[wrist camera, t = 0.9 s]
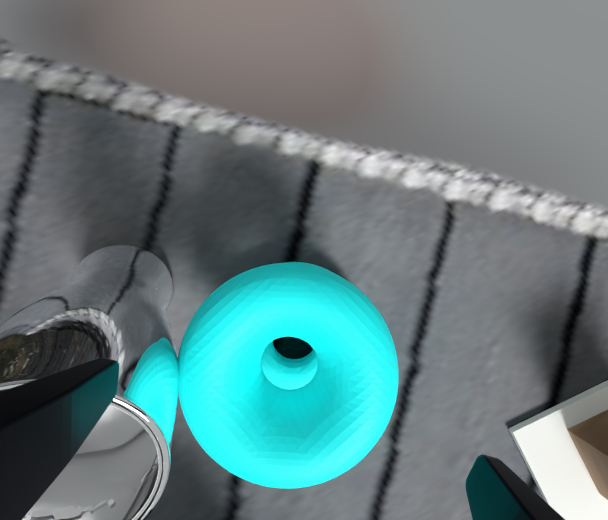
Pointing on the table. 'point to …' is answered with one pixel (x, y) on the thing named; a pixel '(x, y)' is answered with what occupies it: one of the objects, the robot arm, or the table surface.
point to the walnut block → (594, 448)
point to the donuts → (287, 375)
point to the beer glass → (131, 384)
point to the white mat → (563, 455)
